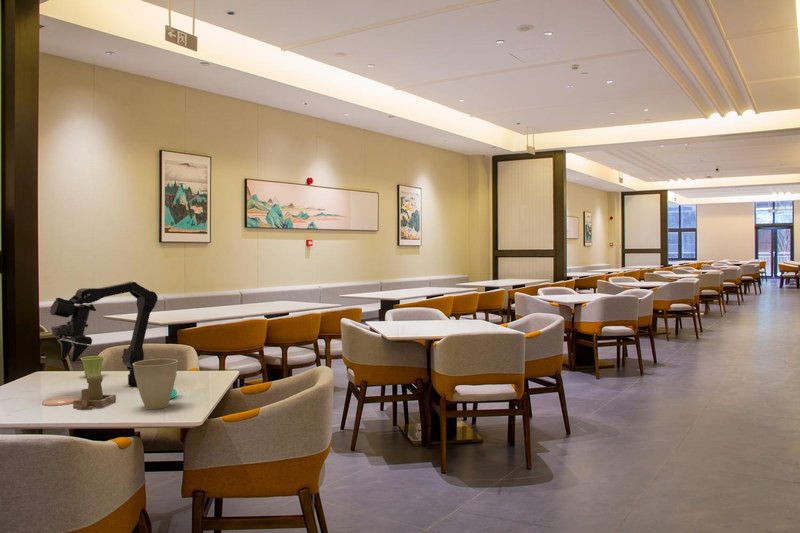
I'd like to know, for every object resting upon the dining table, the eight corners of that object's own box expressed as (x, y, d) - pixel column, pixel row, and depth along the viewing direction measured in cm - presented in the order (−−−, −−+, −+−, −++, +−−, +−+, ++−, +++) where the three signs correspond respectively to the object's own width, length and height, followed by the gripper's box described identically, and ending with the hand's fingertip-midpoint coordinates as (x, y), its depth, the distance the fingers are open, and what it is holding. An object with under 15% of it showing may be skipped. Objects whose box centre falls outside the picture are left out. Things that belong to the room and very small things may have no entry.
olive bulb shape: (96, 407, 222) (96, 376, 222) (81, 406, 223) (81, 375, 223) (108, 403, 228) (107, 373, 228) (93, 402, 229) (93, 372, 229)
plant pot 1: (98, 378, 274) (98, 359, 274) (76, 379, 274) (76, 359, 274) (108, 375, 284) (108, 355, 283) (87, 375, 284) (87, 355, 284)
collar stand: (88, 401, 231) (88, 382, 231) (115, 401, 230) (115, 382, 230) (69, 409, 218) (69, 389, 218) (98, 409, 218) (98, 389, 218)
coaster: (78, 397, 238) (78, 395, 238) (79, 403, 227) (79, 401, 227) (42, 400, 233) (42, 398, 232) (41, 407, 222) (41, 405, 222)
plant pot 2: (164, 400, 232) (163, 357, 232) (186, 406, 223) (186, 361, 223) (125, 407, 221) (124, 362, 221) (146, 414, 211) (146, 367, 211)
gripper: (47, 314, 242) (36, 354, 239) (67, 317, 230) (55, 360, 227) (76, 320, 250) (66, 359, 247) (97, 323, 238) (86, 364, 235)
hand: (67, 360), depth 239 cm, fingers open, 9 cm apart
